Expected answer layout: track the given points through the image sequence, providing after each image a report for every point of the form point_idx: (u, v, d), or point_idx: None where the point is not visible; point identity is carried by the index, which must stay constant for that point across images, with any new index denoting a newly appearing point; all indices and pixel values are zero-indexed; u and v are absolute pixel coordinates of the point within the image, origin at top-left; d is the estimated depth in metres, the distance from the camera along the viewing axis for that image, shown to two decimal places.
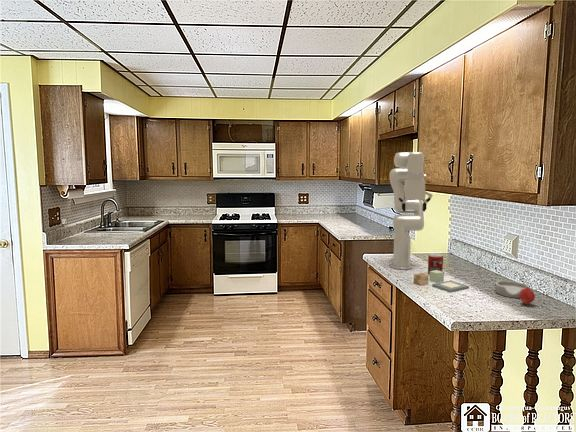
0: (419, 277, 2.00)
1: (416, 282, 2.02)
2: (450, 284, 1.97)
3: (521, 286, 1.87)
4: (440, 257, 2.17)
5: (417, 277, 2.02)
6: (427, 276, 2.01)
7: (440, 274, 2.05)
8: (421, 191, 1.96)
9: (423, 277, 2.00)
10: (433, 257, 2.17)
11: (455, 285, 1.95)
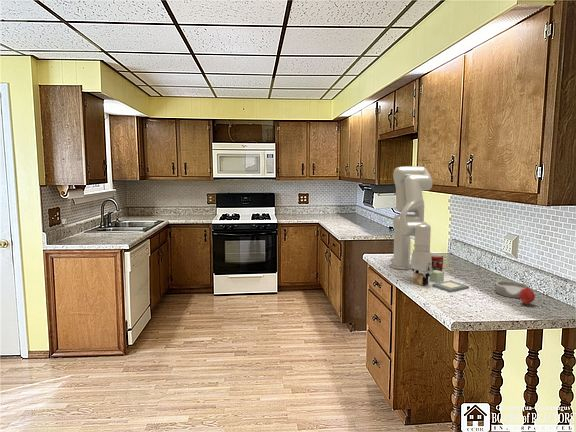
0: (419, 277, 2.00)
1: (416, 282, 2.02)
2: (450, 284, 1.97)
3: (521, 286, 1.87)
4: (440, 257, 2.17)
5: (417, 277, 2.02)
6: None
7: (440, 274, 2.05)
8: None
9: None
10: (433, 257, 2.17)
11: (455, 285, 1.95)
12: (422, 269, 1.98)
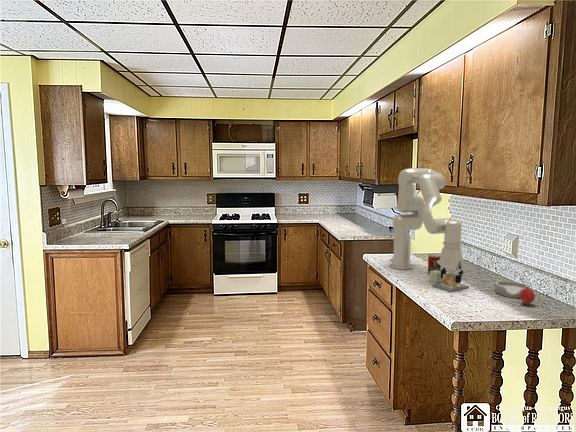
0: (449, 278, 1.94)
1: (445, 283, 1.96)
2: None
3: (521, 286, 1.87)
4: None
5: (446, 278, 1.95)
6: None
7: (440, 274, 2.05)
8: None
9: (453, 278, 1.93)
10: (433, 257, 2.17)
11: None
12: (452, 267, 1.91)
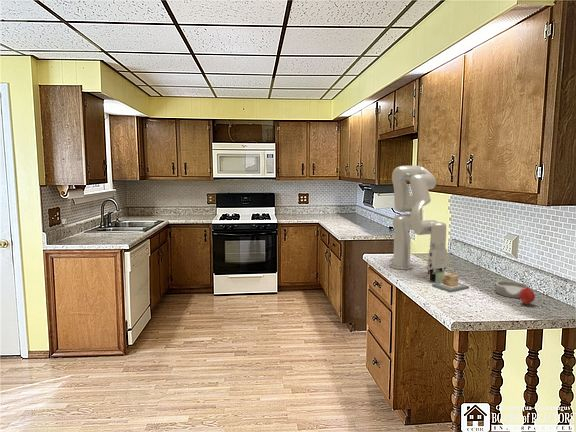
0: (449, 278, 1.94)
1: (445, 283, 1.96)
2: None
3: (521, 286, 1.87)
4: None
5: (446, 278, 1.95)
6: (457, 277, 1.94)
7: (440, 274, 2.05)
8: None
9: (453, 278, 1.93)
10: None
11: None
12: (445, 265, 2.06)
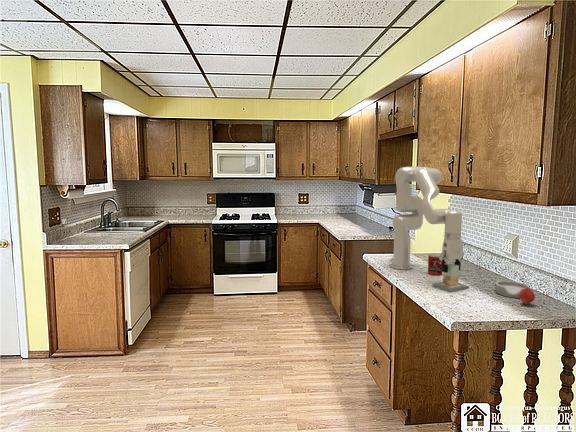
0: (449, 278, 1.94)
1: (445, 283, 1.96)
2: None
3: (521, 286, 1.87)
4: None
5: (446, 278, 1.95)
6: (457, 277, 1.94)
7: (455, 268, 1.93)
8: None
9: (453, 278, 1.93)
10: (433, 257, 2.17)
11: None
12: (461, 256, 1.94)
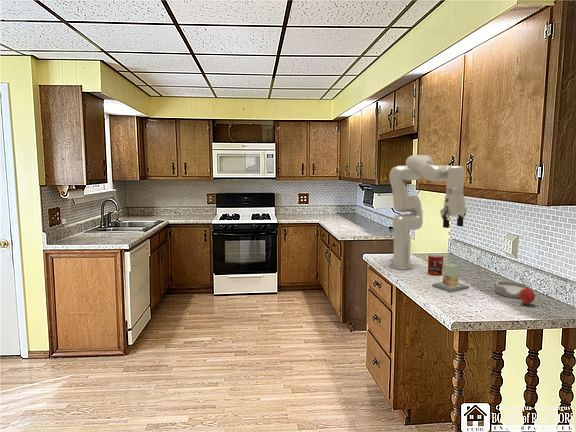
0: (449, 278, 1.94)
1: (445, 283, 1.96)
2: None
3: (521, 286, 1.87)
4: (440, 257, 2.17)
5: (446, 278, 1.95)
6: (457, 277, 1.94)
7: (455, 268, 1.93)
8: None
9: (453, 278, 1.93)
10: (433, 257, 2.17)
11: None
12: (463, 212, 1.91)
